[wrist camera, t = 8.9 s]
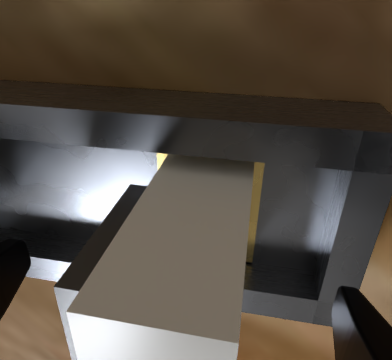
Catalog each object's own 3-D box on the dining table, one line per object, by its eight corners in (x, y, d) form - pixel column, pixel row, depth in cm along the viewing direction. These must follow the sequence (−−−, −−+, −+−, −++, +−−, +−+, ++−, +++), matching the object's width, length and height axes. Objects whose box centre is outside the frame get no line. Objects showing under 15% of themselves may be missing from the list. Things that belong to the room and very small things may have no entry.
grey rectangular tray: (379, 103, 11) (412, 134, 9) (332, 271, 15) (345, 329, 12) (-135, 71, 15) (-222, 87, 12) (-71, 215, 18) (-127, 251, 16)
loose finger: (254, 161, 11) (238, 344, 5) (243, 251, 13) (223, 461, 7) (147, 150, 12) (24, 304, 6) (152, 238, 14) (62, 422, 8)
